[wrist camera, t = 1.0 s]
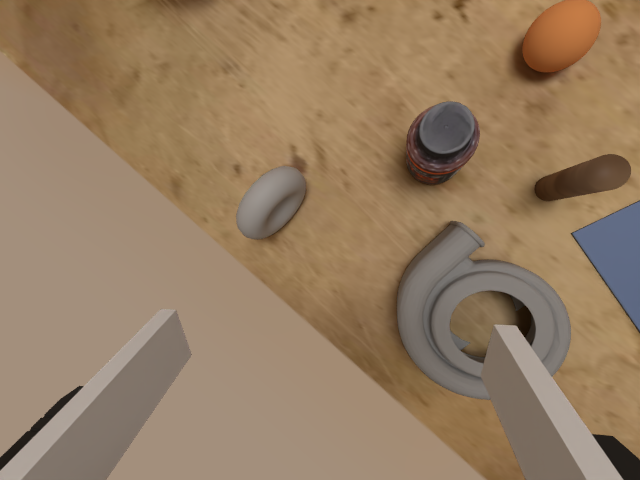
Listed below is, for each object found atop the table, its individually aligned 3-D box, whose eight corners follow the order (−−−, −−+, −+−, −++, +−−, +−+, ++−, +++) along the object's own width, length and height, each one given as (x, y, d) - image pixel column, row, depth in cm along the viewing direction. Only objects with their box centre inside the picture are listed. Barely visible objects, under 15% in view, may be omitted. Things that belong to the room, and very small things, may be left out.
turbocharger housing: (466, 398, 34) (578, 320, 30) (483, 441, 28) (627, 349, 24) (365, 296, 36) (458, 210, 32) (359, 315, 29) (474, 210, 26)
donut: (277, 243, 39) (235, 248, 29) (260, 227, 40) (213, 227, 30) (321, 184, 37) (290, 170, 27) (302, 169, 37) (266, 149, 28)
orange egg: (591, 57, 28) (633, 18, 22) (533, 94, 29) (560, 65, 24) (557, 14, 28) (591, -34, 23) (503, 52, 30) (522, 15, 25)
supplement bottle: (397, 174, 34) (391, 149, 23) (420, 126, 33) (426, 76, 22) (446, 194, 32) (464, 177, 21) (472, 144, 31) (505, 100, 20)
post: (570, 191, 29) (639, 177, 20) (543, 205, 29) (599, 197, 21) (555, 170, 29) (616, 147, 20) (529, 184, 30) (578, 167, 21)
